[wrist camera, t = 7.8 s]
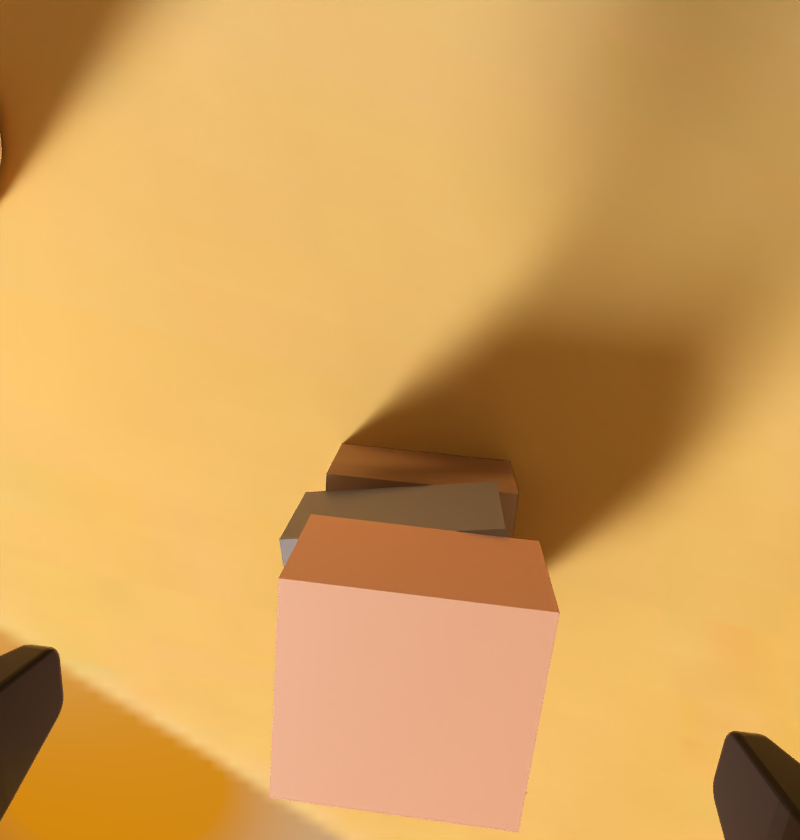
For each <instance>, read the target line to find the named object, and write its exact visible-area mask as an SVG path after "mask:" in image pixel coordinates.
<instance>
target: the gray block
mask: <svg viewBox="0 0 800 840" xmlns="http://www.w3.org/2000/svg"><path fill="white" fill-rule="evenodd" d="M311 514H314V515H323V516H331V517H340V518H348V519H357V520H365V521H373V522H382V523H390V524H399V525H407V526H416V527H424V528H433V529H441V530H450V531H458V532H466V533H475V534H484V535H492V536H501V537H506V530H505V523H504V518H503V513H502V507H501V502H500V496H499V491H498V486H497V482H479V483H461V484H443V485H427V486H409V487H391V488H374V489H356V490H338V491H319V492H306V493H305V495H304V497H303V498H302V500H301V502H300V504H299V506H298V507H297V509H296V511H295V513H294V514H293V516H292V518H291V520H290V522H289V523H288V525H287V527H286V529H285V531H284V532H283V534H282V536H281V538H280V546H281V553H282V559H283V566H284V567H285V565H286V563H287V561H288V559H289V557H290V555H291V553H292V551H293V549H294V547H295V545H296V543H297V541H298V539H299V537H300V535H301V533H302V531H303V529H304V527H305V525H306V523H307V521H308V519H309V517H310V515H311Z"/></svg>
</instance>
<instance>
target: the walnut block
mask: <svg viewBox="0 0 800 840" xmlns="http://www.w3.org/2000/svg"><path fill="white" fill-rule="evenodd" d="M479 482H497V486H498V491H499V496H500V502H501V507H502V513H503V518H504V523H505V530H506V537H509V538H512V537H513V530H514V523H515V516H516V510H517V503H518V496H519V493H518V489H517V485H516V482H515V478H514V474H513V470H512V466H511V462H510V461H505V460H495V459H486V458H476V457H467V456H457V455H448V454H438V453H428V452H419V451H409V450H400V449H390V448H381V447H371V446H362V445H352V444H343V443H342V445H341V447H340V449H339V451H338V453H337V455H336V456H335V458H334V460H333V462H332V464H331V466H330V468H329V470H328V472H327V477H326V491H338V490H356V489H374V488H391V487H409V486H427V485H443V484H461V483H479Z"/></svg>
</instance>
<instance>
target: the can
mask: <svg viewBox="0 0 800 840" xmlns="http://www.w3.org/2000/svg"><path fill="white" fill-rule="evenodd" d="M0 165H1V135H0Z"/></svg>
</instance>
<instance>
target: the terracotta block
mask: <svg viewBox="0 0 800 840" xmlns="http://www.w3.org/2000/svg"><path fill="white" fill-rule="evenodd" d="M559 613H560V612H559V609H558V605H557V602H556V598H555V595H554V591H553V588H552V584H551V581H550V577H549V574H548V570H547V567H546V563H545V560H544V556H543V553H542V549H541V546H540V542H539V541H535V540H526V539H518V538H509V537H501V536H492V535H484V534H475V533H466V532H458V531H450V530H441V529H433V528H424V527H416V526H407V525H399V524H390V523H382V522H373V521H365V520H357V519H348V518H340V517H331V516H323V515H314V514H311V515H310V517H309V519H308V521H307V523H306V525H305V527H304V529H303V531H302V533H301V535H300V537H299V539H298V541H297V543H296V545H295V547H294V549H293V551H292V553H291V555H290V557H289V559H288V561H287V563H286V565H285V567H284V569H283V571H282V573H281V575H280V577H279V583H278V607H277V631H276V655H275V679H274V703H273V727H272V751H271V775H270V798H276V799H283V800H290V801H297V802H304V803H311V804H319V805H326V806H333V807H340V808H347V809H354V810H361V811H369V812H376V813H383V814H390V815H397V816H404V817H411V818H419V819H426V820H433V821H440V822H447V823H454V824H461V825H469V826H476V827H483V828H490V829H497V830H504V831H512V832H519V827H520V821H521V816H522V811H523V805H524V800H525V795H526V789H527V784H528V779H529V773H530V768H531V763H532V757H533V752H534V747H535V741H536V736H537V731H538V725H539V720H540V715H541V709H542V704H543V699H544V693H545V688H546V683H547V677H548V672H549V667H550V661H551V656H552V651H553V645H554V640H555V635H556V629H557V624H558V619H559Z"/></svg>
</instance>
